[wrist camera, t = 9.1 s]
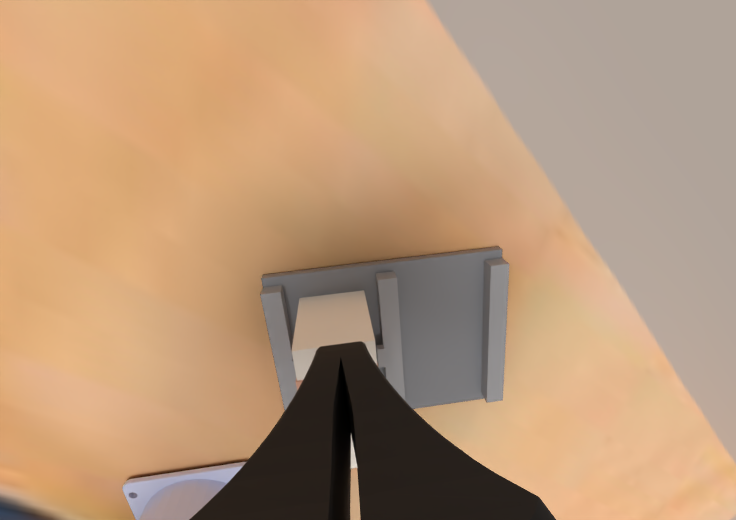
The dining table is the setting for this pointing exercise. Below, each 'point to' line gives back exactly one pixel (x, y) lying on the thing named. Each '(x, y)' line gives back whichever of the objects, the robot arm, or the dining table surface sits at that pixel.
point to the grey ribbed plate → (411, 321)
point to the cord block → (330, 330)
